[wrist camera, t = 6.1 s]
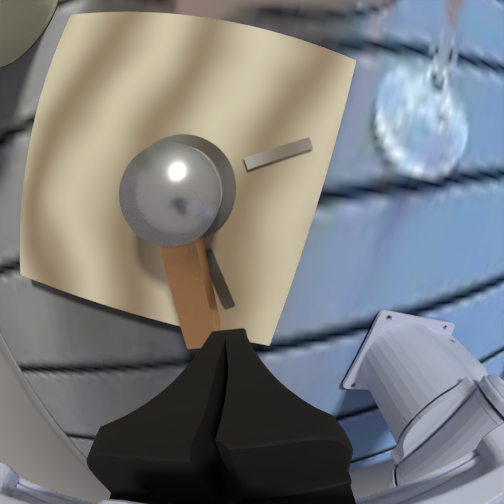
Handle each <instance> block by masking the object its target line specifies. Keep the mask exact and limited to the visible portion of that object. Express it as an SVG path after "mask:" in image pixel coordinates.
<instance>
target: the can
mask: <svg viewBox="0 0 504 504" xmlns="http://www.w3.org/2000/svg"><path fill="white" fill-rule="evenodd" d="M57 3H58V0H0V67H3V66H6V65H8V64H10V63H12V62H14V61H15V60H17V59H18V58H19V57H20V56H22V55H23V54H24V53H25V52H26V51H27V50H28V49H29V48H30V47H31V46H32V45H33V44H34V43H35V42H36V40H37V39H38V38H39V37H40V35H41V34H42V33H43V31H44V30H45V28H46V27H47V25H48V23H49V22H50V20H51V18H52V16H53V14H54V12H55V9H56V7H57Z"/></svg>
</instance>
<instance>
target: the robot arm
mask: <svg viewBox="0 0 504 504" xmlns="http://www.w3.org/2000/svg"><path fill="white" fill-rule="evenodd" d="M389 315H390V316H389ZM387 316H389V318H387ZM386 318H387V319H386ZM454 328H455V325H454V324H453V323H451V322H446V321H440V320H435V319H430V318H424V317H419V316H414V315H408V314H403V313H398V312H393V311H388V310H381V311H380V312H379V313H378V314H377V316H376V319H375V321H374V323H373V325H372V327H371V329H370V331H369V333H368V335H367V337H366V339H365V341H364V343H363V345H362V347H361V349H360V351H359V353H358V355H357V357H356V359H355V361H354V363H353V365H352V367H351V368H350V370H349V372H348V374H347V376H346V377H345V379H344V381H343V383H342V384H343V387H344V388H346V389H360V390H369V391H370V393H371V395H372V397H373V398H374V400H375V402H376V404H377V406H378V408H379V410H380V412H381V414H382V416H383V418H384V420H385V422H386V424H387V426H388V428H389V430H390V432H391V434H392V435H393V437H394V439H395V441H396V443H397V447H396V448H395V449H394V450H393V451H392V452H391V455H392V457H393V459H394V461H395V463H396V464H394V465H393V466H392V467H391V469H390V470H389V472H388V478H387V484H388V485H387V486H388V489H387V490H384V491H381V492H379V493H375V494H372V495H369V496H366V497H362V498H359V499H354V496H353V493H352V489H351V486H350V484H351V478H350V475H349V472H348V470H349V466H350V463H351V459H352V455H353V449H352V446H351V443H350V441H349V439H348V437H347V435H346V433H345V432H344V430H343V429H342V427H341V426H340V424H339V423H338V421H337V420H336V419H335V417H334V416H332V415H330V414H328V413H326V412H324V411H322V410H319V409H317V408H315V407H313V406H312V405H310V404H309V403H307V402H305V401H304V400H302V399H301V398H299V397H298V396H297V395H295V394H294V393H293V392H291V391H290V390H289V389H287V388H286V387H285V386H284V385H283V384H282V383H281V382H279V381H278V380H277V379H276V378H275V377H274V376H273V374H272V373H271V372H270V371H269V370H268V369H267V368H266V366H265V365H264V364H263V362H262V361H261V360H260V358H259V357H258V355H257V354H256V352H255V351H254V349H253V347H252V346H251V344H250V341H249V339H248V337H247V333H246V330H245V329H244V328H238V329H229V330H220V331H212V332H211V333H210V335H209V336H208V338H207V340H206V341H205V343H204V344H203V346H202V347H201V349H200V350H199V351H198V353H197V354H196V356H195V357H194V358H193V360H192V361H191V362H190V364H189V365H188V366H187V367H186V368H185V369H184V371H183V372H182V373H181V374H180V375H179V376H178V377H177V378H176V379H175V380H174V381H173V382H172V383H171V384H170V385H169V386H168V387H167V388H166V389H165V390H163V391H162V392H161V393H160V394H158V395H157V396H156V397H154V398H153V399H152V400H150V401H149V402H148V403H146V404H145V405H143V406H141V407H140V408H138V409H137V410H135V411H133V412H131V413H130V414H128V415H126V416H124V417H122V418H120V419H117V420H115V421H113V422H111V423H108V424H106V425H104V426H101V427H100V429H99V431H98V433H97V435H96V437H95V439H94V442H93V445H92V447H91V450H90V452H89V455H88V458H87V464H88V467H89V469H90V470H91V471H92V473H93V474H94V475H95V476H96V477H97V478H98V480H99V481H100V482H101V483H102V484H103V485H104V486H105V487H106V488H107V489H108V490H109V491H110V492H111V495H110V499H106V500H103V501H101V502H100V503H98V504H504V381H503V380H502V379H501V378H500V377H498V376H497V375H489V376H488V374H487V372H486V370H485V368H484V367H483V365H482V364H481V363H480V362H479V361H478V360H477V359H476V358H475V357H474V356H473V355H472V354H471V353H470V352H469V351H468V350H467V349H466V348H465V347H464V346H463V345H462V344H460V343H459V342H458V341H457V340H456V339H455V338H454V337H453V336H452V335H451V334H452V332H453V330H454ZM353 383H354V384H353ZM0 504H96V503H92V502H88V501H84V500H81V499H77V498H74V497H71V496H67V495H64V494H61V493H58V492H55V491H53V490H50V489H47V488H44V487H42V486H39V485H36V484H34V483H32V482H29V481H27V480H24V479H22V478H20V477H19V476H18V475H17V473H16V472H15V471H14V470H13V469H12V468H10V467H9V466H8V465H6V464H5V463H3V462H1V461H0Z"/></svg>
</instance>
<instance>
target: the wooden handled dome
mask: <svg viewBox="0 0 504 504" xmlns="http://www.w3.org/2000/svg"><path fill="white" fill-rule="evenodd" d="M223 191H224V186H223V179H222V175H221V172H220V170H219V168H218V166H217V165H216V163H215V162H214V161H213V160H212V159H211V158H210V157H209V156H208V155H207V154H206V153H204V152H202V151H201V150H198V149H196V148H193V147H190V146H187V145H184V144H180V143H173V142H169V143H160V144H156V145H153V146H150V147H148V148H146V149H144V150H143V151H141V152H140V153H139V154H138V155H136V156H135V157H134V158H133V159H132V160H131V162H130V163H129V164H128V166H127V167H126V169H125V171H124V173H123V176H122V178H121V182H120V188H119V202H120V207H121V211H122V214H123V216H124V219H125V220H126V222H127V224H128V225H129V227H130V228H131V229H132V230H133V231H134V232H135V233H136V234H137V235H138V236H139V237H140V238H142V239H144V240H145V241H147V242H149V243H151V244H154V245H158V246H160V249H161V253H162V257H163V262H164V266H165V270H166V274H167V278H168V282H169V286H170V290H171V294H172V298H173V301H174V305H175V309H176V312H177V316H178V319H179V323H180V326H181V330H182V333H183V337H184V340H185V343H186V347H187V349H196V348H201V347H202V346H203V344H204V343H205V341H206V340H207V338H208V336H209V335H210V333H211V332H212V331H220V317H219V312H218V308H217V303H216V298H215V293H214V289H213V284H212V279H211V274H210V269H209V264H208V259H207V253H206V248H205V243H204V238H203V234H204V233H205V232H206V231H207V229H208V228H209V227H210V226H211V224H212V223H213V221H214V219H215V217H216V215H217V213H218V210H219V207H220V205H221V202H222V198H223Z"/></svg>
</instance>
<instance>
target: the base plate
mask: <svg viewBox="0 0 504 504" xmlns="http://www.w3.org/2000/svg"><path fill="white" fill-rule="evenodd" d="M355 64H356V60H354V59H351V58H349V57H346V56H344V55H342V54H339V53H336V52H334V51H331V50H329V49H326V48H323V47H320V46H318V45H315V44H312V43H309V42H306V41H303V40H300V39H297V38H293V37H290V36H287V35H283V34H280V33H276V32H272V31H269V30H265V29H261V28H256V27H252V26H248V25H243V24H238V23H233V22H228V21H223V20H217V19H211V18H204V17H196V16H188V15H179V14H167V13H151V12H101V13H86V14H74V15H71V16H70V19H69V21H68V23H67V25H66V27H65V30H64V32H63V34H62V37H61V39H60V41H59V44H58V46H57V49H56V52H55V54H54V57H53V60H52V62H51V65H50V68H49V71H48V74H47V77H46V80H45V83H44V87H43V90H42V93H41V97H40V101H39V104H38V108H37V112H36V116H35V120H34V125H33V129H32V134H31V139H30V144H29V150H28V156H27V162H26V169H25V176H24V185H23V194H22V206H21V224H20V272H21V275H23V276H25V277H28V278H30V279H33V280H35V281H38V282H40V283H43V284H46V285H48V286H51V287H54V288H56V289H59V290H62V291H65V292H67V293H70V294H73V295H76V296H79V297H82V298H85V299H88V300H91V301H94V302H97V303H100V304H103V305H106V306H110V307H113V308H116V309H119V310H123V311H126V312H129V313H133V314H136V315H140V316H143V317H147V318H150V319H154V320H158V321H161V322H165V323H169V324H173V325H177V326H180V323H179V319H178V316H177V312H176V309H175V305H174V301H173V298H172V294H171V290H170V286H169V282H168V278H167V274H166V270H165V266H164V262H163V257H162V253H161V249H160V246H158V245H154V244H151V243H149V242H147V241H145V240H144V239H142V238H140V237H139V236H138V235H137V234H136V233H135V232H134V231H133V230H132V229H131V228H130V227H129V225H128V224H127V222H126V220H125V219H124V216H123V214H122V211H121V207H120V202H119V188H120V182H121V178H122V176H123V173H124V171H125V169H126V167H127V166H128V164H129V163H130V162H131V160H132V159H133V158H134V157H135V156H136V155H138V154H139V153H140V152H141V151H143V150H144V149H146V148H148V147H150V146H153V145H156V144H160V143H169V142H173V143H180V144H184V145H187V146H190V147H193V148H196V149H198V150H201V151H202V152H204V153H206V154H207V155H208V156H209V157H210V158H211V159H212V160H213V161H214V162H215V163H216V165H217V166H218V168H219V170H220V172H221V175H222V179H223V186H224V191H223V198H222V202H221V205H220V207H219V210H218V213H217V215H216V217H215V219H214V221H213V223H212V224H211V226H210V227H209V228H208V229H207V231H206V232H205V233H204V234H203V238H204V243H205V248H206V253H207V259H208V264H209V269H210V274H211V279H212V284H213V289H214V293H215V298H216V303H217V308H218V312H219V317H220V330H229V329H238V328H244V329H245V330H246V333H247V337H248V339H249V341H250V342H253V343H258V344H263V345H268V346H269V345H270V342H271V340H272V337H273V334H274V332H275V329H276V326H277V323H278V321H279V318H280V315H281V312H282V309H283V307H284V304H285V301H286V298H287V295H288V292H289V289H290V286H291V284H292V281H293V278H294V275H295V272H296V269H297V266H298V263H299V260H300V257H301V254H302V251H303V248H304V245H305V242H306V238H307V235H308V232H309V229H310V226H311V223H312V220H313V216H314V213H315V210H316V207H317V203H318V200H319V197H320V194H321V190H322V187H323V184H324V180H325V177H326V173H327V170H328V166H329V163H330V159H331V156H332V152H333V149H334V145H335V142H336V138H337V134H338V131H339V127H340V123H341V119H342V116H343V112H344V108H345V104H346V100H347V96H348V92H349V88H350V84H351V80H352V76H353V72H354V68H355Z"/></svg>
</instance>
